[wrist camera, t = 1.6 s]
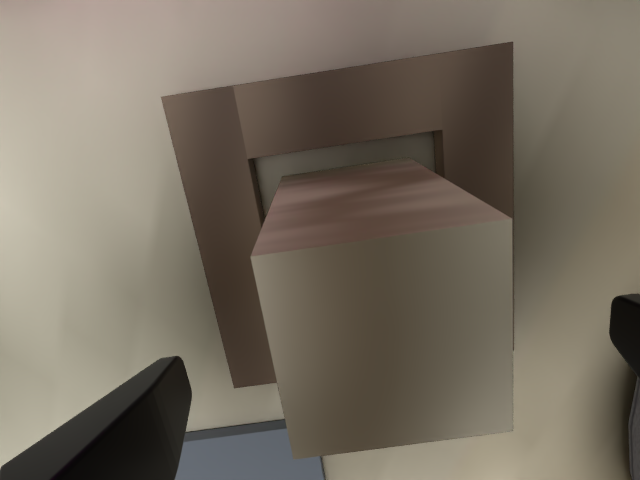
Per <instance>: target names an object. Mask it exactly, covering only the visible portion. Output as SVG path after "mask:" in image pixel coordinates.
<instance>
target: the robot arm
mask: <svg viewBox="0 0 640 480" xmlns="http://www.w3.org/2000/svg"><path fill="white" fill-rule="evenodd" d="M609 334H610V338H611V341H612V343H613V345H614V346H615V347H616V349H617V350H618V351H619V353H620V354H621V355H622V357H623V358H624V359H625V361H626V362H627V363H628V365H629V366H630V367H631V369H632V370H633V371H634V373H635V374H636V375H637V377H638V378H639V380H640V294H628V295H621V296H617V297H615V298H614V299H613V301H612V305H611V316H610V329H609ZM191 400H192V391H191V386H190V383H189V379H188V376H187V372H186V369H185V366H184V362H183V360H182V359H181V358H180V357H179V356H173V357H166V358H161V359H159V360H157V361H156V362H154V363H153V364H151V365H150V366H148V367H147V368H145V369H144V370H143V371H141V372H140V373H138V374H137V375H135V376H134V377H132V378H131V379H129V380H128V381H126V382H125V383H123V384H122V385H120V386H119V387H118V388H116V389H115V390H113V391H112V392H110V393H109V394H107V395H106V396H104V397H103V398H101V399H100V400H98V401H97V402H95V403H94V404H93V405H91V406H90V407H88V408H87V409H85V410H84V411H82V412H81V413H79V414H78V415H76V416H75V417H73V418H72V419H70V420H69V421H68V422H66V423H65V424H63V425H62V426H60V427H59V428H57V429H56V430H54V431H53V432H51V433H50V434H48V435H47V436H45V437H44V438H43V439H41V440H40V441H38V442H37V443H35V444H34V445H32V446H31V447H29V448H28V449H26V450H25V451H23V452H22V453H20V454H19V455H18V456H16V457H15V458H13V459H12V460H10V461H9V462H7V463H6V464H4V465H3V466H2V467H1V469H0V480H175V477H176V474H177V470H178V466H179V462H180V457H181V452H182V447H183V442H184V436H185V431H186V426H187V421H188V416H189V410H190V405H191Z"/></svg>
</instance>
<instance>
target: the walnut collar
mask: <svg viewBox="0 0 640 480" xmlns="http://www.w3.org/2000/svg"><path fill="white" fill-rule="evenodd" d="M161 99H162V103H163V107H164V111H165V115H166V119H167V123H168V127H169V131H170V135H171V139H172V143H173V147H174V151H175V155H176V159H177V163H178V167H179V171H180V175H181V179H182V182H183V186H184V190H185V194H186V198H187V202H188V206H189V210H190V214H191V218H192V222H193V226H194V230H195V234H196V238H197V242H198V246H199V250H200V254H201V258H202V262H203V266H204V270H205V274H206V278H207V282H208V286H209V290H210V294H211V298H212V302H213V306H214V310H215V314H216V318H217V322H218V326H219V330H220V334H221V338H222V342H223V346H224V350H225V354H226V358H227V362H228V366H229V369H230V373H231V377H232V381H233V385H234V388H240V387H247V386H254V385H262V384H269V383H277V380H276V375H275V370H274V365H273V361H272V356H271V351H270V347H269V342H268V337H267V332H266V328H265V323H264V318H263V313H262V309H261V304H260V299H259V295H258V290H257V285H256V280H255V276H254V271H253V266H252V262H251V257H250V256H251V254H252V251H253V249H254V246H255V244H256V241H257V239H258V236H259V234H260V231H261V229H262V226H263V224H264V221H265V219H264V214H263V208H262V203H261V198H260V193H259V188H258V183H257V178H256V173H255V167H254V162H253V158H258V157H264V156H271V155H278V154H284V153H291V152H297V151H304V150H311V149H317V148H324V147H331V146H337V145H344V144H350V143H357V142H364V141H370V140H377V139H383V138H390V137H397V136H403V135H410V134H416V133H423V132H430V131H433V132H434V148H435V165H436V174H438V175H439V176H441V177H443V178H444V179H446V180H448V181H449V182H451V183H453V184H454V185H456V186H458V187H460V188H461V189H463V190H465V191H466V192H468V193H470V194H471V195H473V196H475V197H476V198H478V199H480V200H481V201H483V202H485V203H487V204H488V205H490V206H492V207H493V208H495V209H497V210H498V211H500V212H502V213H503V214H505V215H507V216H508V217H510V218H512V263H513V351H514V173H513V42H508V43H502V44H495V45H489V46H483V47H476V48H470V49H464V50H457V51H451V52H444V53H438V54H432V55H425V56H419V57H412V58H406V59H400V60H393V61H387V62H381V63H374V64H368V65H361V66H355V67H349V68H342V69H336V70H329V71H323V72H317V73H310V74H304V75H298V76H291V77H285V78H278V79H272V80H266V81H259V82H253V83H247V84H240V85H234V86H227V87H221V88H215V89H208V90H202V91H195V92H189V93H183V94H176V95H170V96H164V97H161Z"/></svg>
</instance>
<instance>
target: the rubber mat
mask: <svg viewBox="0 0 640 480" xmlns="http://www.w3.org/2000/svg"><path fill="white" fill-rule="evenodd" d="M175 480H325V475H324V469H323V464H322V459H321V456H318V457H310V458H302V459H294V460H293V455H292V450H291V446H290V441H289V436H288V431H287V427H286V422H285V420H278V421H271V422H263V423H256V424H248V425H240V426H233V427H225V428H218V429H210V430H203V431H195V432H188V433H185V436H184V442H183V447H182V452H181V457H180V462H179V466H178V470H177V474H176V477H175Z"/></svg>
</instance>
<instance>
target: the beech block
mask: <svg viewBox="0 0 640 480" xmlns="http://www.w3.org/2000/svg"><path fill="white" fill-rule="evenodd" d="M250 257H251V262H252V266H253V271H254V276H255V280H256V285H257V290H258V295H259V299H260V304H261V309H262V313H263V318H264V323H265V328H266V332H267V337H268V342H269V347H270V351H271V356H272V361H273V365H274V370H275V375H276V380H277V384H278V389H279V394H280V398H281V403H282V408H283V413H284V417H285V422H286V427H287V431H288V436H289V441H290V446H291V450H292V455H293V460H294V459H302V458H310V457H318V456H325V455H333V454H341V453H348V452H356V451H364V450H372V449H379V448H387V447H395V446H403V445H410V444H418V443H426V442H433V441H441V440H449V439H457V438H464V437H472V436H480V435H487V434H495V433H503V432H511V431H513V263H512V218H510V217H508V216H507V215H505V214H503V213H502V212H500V211H498V210H497V209H495V208H493V207H492V206H490V205H488V204H487V203H485V202H483V201H481V200H480V199H478V198H476V197H475V196H473V195H471V194H470V193H468V192H466V191H465V190H463V189H461V188H460V187H458V186H456V185H454V184H453V183H451V182H449V181H448V180H446V179H444V178H443V177H441V176H439V175H438V174H436V173H434V172H432V171H431V170H429V169H427V168H426V167H424V166H422V165H421V164H419V163H417V162H416V161H414V160H412V159H411V158H402V159H396V160H389V161H382V162H376V163H369V164H362V165H356V166H349V167H342V168H336V169H329V170H322V171H316V172H309V173H302V174H295V175H289V176H282V178H281V181H280V183H279V186H278V188H277V191H276V193H275V196H274V199H273V201H272V204H271V206H270V209H269V211H268V214H267V216H266V219H265V221H264V224H263V226H262V229H261V231H260V234H259V236H258V239H257V241H256V244H255V246H254V249H253V251H252V254H251V256H250Z"/></svg>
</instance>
